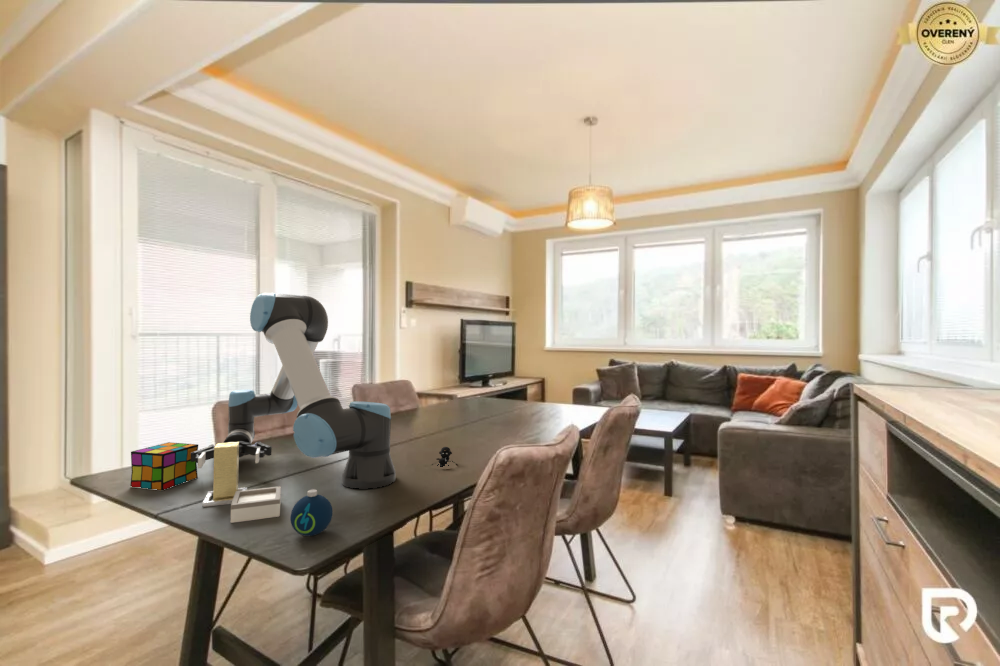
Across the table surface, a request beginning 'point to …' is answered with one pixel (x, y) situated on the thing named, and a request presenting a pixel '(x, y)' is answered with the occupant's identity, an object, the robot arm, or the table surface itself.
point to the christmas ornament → (311, 514)
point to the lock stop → (225, 470)
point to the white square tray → (256, 504)
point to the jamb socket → (217, 502)
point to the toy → (163, 465)
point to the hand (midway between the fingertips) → (228, 460)
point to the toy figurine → (444, 456)
